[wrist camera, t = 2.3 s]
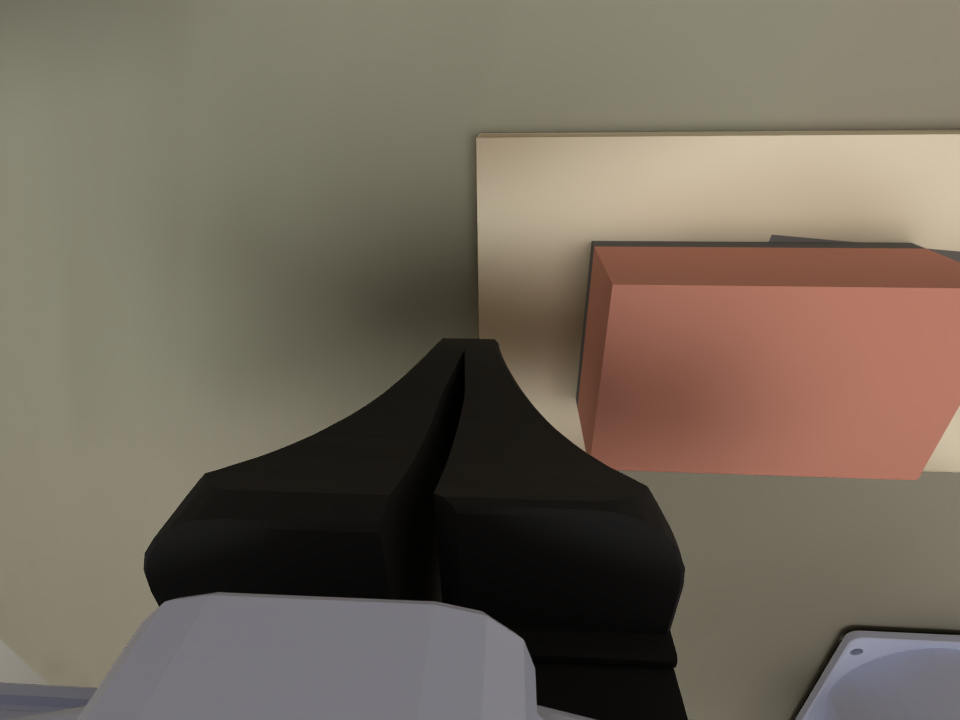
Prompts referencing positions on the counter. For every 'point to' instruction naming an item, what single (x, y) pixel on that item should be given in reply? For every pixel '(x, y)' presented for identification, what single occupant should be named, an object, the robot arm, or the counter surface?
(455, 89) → the counter surface
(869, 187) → the plank
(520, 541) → the robot arm
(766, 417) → the block
